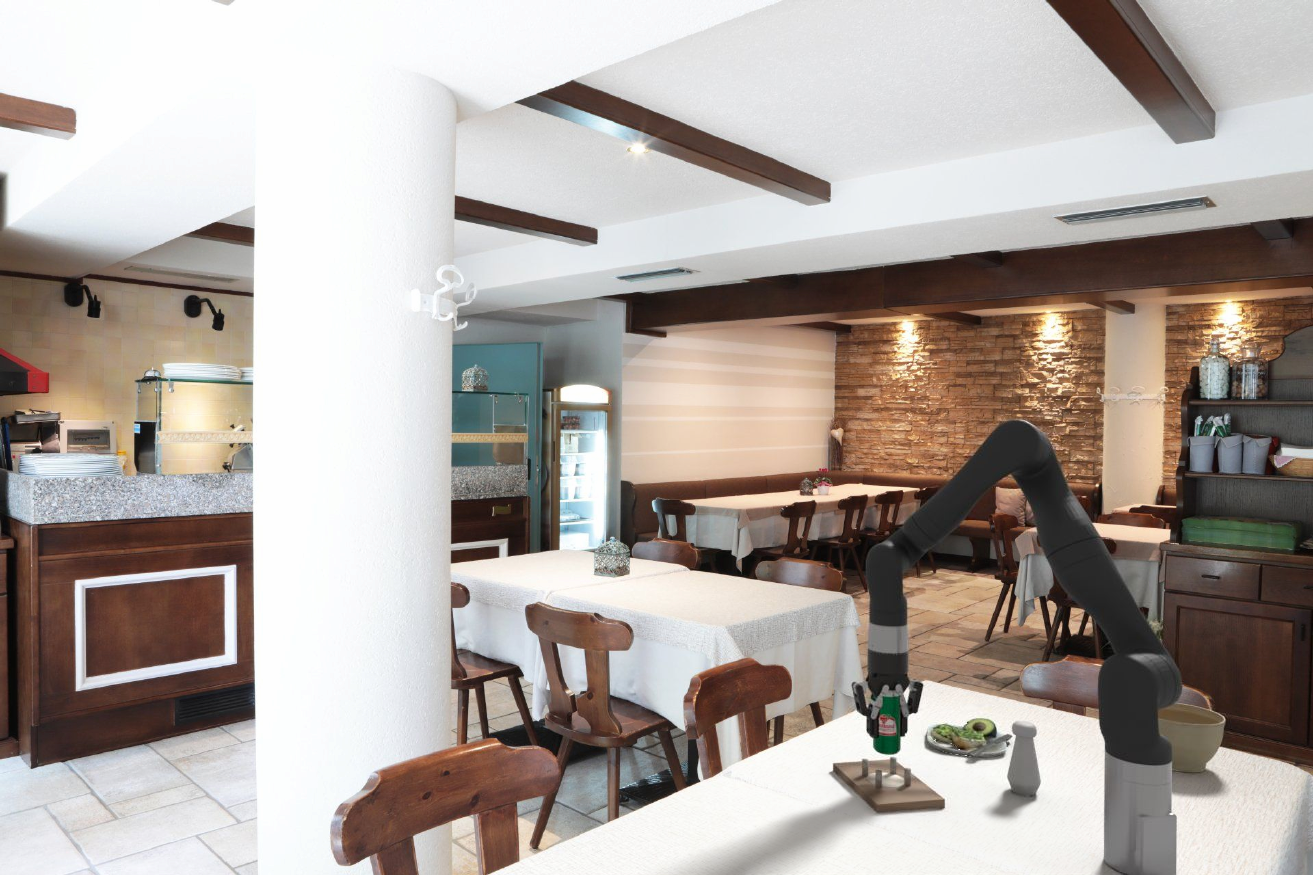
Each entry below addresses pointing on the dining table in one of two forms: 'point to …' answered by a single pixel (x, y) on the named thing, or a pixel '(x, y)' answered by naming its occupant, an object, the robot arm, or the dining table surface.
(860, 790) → the pin board
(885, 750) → the soda can
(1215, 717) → the planter bowl
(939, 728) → the salad plate
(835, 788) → the dining table surface
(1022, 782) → the salt shaker
